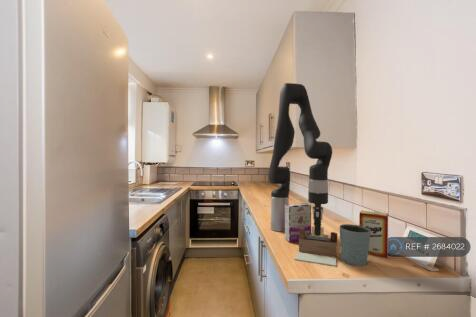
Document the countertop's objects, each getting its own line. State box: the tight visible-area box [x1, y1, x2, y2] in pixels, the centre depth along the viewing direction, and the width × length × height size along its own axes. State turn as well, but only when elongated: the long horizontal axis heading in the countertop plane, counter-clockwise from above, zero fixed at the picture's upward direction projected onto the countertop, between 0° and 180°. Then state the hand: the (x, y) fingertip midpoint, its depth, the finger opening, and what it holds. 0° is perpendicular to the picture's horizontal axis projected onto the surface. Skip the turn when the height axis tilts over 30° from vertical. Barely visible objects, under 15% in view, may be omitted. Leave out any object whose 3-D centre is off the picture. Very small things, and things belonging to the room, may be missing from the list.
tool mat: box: [294, 251, 337, 267], centre depth 86 cm, size 7×14×1 cm, turn 69°
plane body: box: [298, 225, 338, 258], centre depth 94 cm, size 6×14×9 cm, turn 69°
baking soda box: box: [358, 210, 389, 258], centre depth 94 cm, size 10×6×16 cm
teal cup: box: [339, 224, 371, 267], centre depth 85 cm, size 10×10×12 cm
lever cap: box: [307, 225, 329, 241], centre depth 94 cm, size 4×8×4 cm, turn 69°
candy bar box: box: [284, 202, 312, 243], centre depth 107 cm, size 11×5×16 cm, turn 105°
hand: (317, 233), depth 94 cm, fingers closed on lever cap, 3 cm apart
